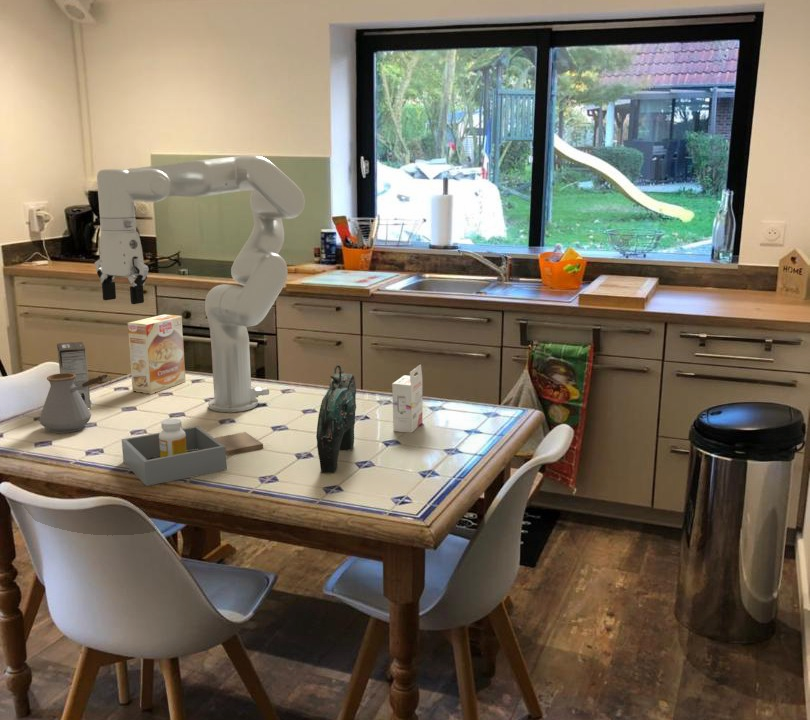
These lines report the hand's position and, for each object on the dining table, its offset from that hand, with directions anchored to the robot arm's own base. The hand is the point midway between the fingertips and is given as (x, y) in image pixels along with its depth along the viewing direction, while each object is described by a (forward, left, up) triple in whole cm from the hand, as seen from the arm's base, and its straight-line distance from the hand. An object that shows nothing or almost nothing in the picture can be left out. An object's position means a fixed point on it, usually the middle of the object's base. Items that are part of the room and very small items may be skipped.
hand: (123, 301), depth 193 cm
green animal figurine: (-31, +44, -31) cm, 62 cm away
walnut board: (-15, +24, -31) cm, 42 cm away
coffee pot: (+11, -6, -31) cm, 33 cm away
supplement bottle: (0, +29, -31) cm, 42 cm away
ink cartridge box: (-55, +34, -31) cm, 72 cm away
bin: (0, +29, -31) cm, 42 cm away
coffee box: (+7, -29, -31) cm, 43 cm away
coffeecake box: (-17, -36, -31) cm, 51 cm away
